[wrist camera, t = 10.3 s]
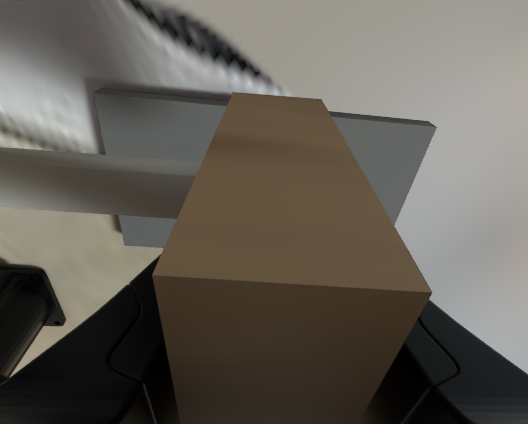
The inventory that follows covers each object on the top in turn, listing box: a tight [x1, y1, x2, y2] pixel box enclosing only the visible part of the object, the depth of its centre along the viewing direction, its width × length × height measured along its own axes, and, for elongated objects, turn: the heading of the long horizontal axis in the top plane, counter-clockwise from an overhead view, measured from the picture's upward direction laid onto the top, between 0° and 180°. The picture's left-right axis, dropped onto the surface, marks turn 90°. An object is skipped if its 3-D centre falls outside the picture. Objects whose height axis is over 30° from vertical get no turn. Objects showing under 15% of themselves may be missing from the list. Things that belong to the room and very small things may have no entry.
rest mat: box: [93, 89, 437, 248], centre depth 19 cm, size 10×18×1 cm, turn 84°
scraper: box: [0, 92, 432, 424], centre depth 7 cm, size 7×14×7 cm, turn 86°
